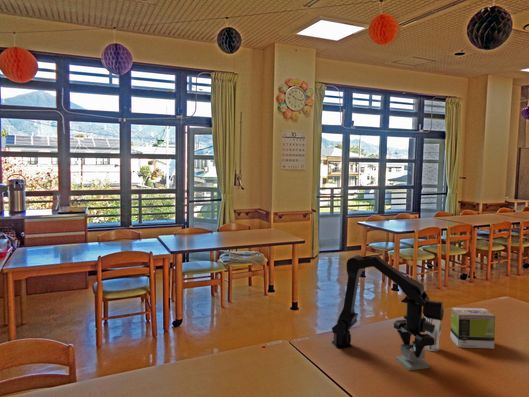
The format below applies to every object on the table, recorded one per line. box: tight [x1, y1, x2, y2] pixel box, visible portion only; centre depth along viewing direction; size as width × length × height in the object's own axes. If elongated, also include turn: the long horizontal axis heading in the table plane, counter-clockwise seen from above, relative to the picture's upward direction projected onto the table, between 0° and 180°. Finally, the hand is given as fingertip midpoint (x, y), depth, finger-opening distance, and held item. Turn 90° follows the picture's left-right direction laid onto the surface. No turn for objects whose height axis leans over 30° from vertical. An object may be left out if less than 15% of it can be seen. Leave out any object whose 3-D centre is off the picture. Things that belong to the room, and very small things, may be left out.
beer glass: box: [423, 315, 443, 352], centre depth 175 cm, size 7×7×15 cm
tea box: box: [450, 306, 496, 350], centre depth 179 cm, size 15×10×15 cm, turn 84°
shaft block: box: [395, 348, 430, 371], centre depth 161 cm, size 9×9×6 cm
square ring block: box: [400, 342, 426, 360], centre depth 161 cm, size 6×6×4 cm
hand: (412, 353), depth 161 cm, fingers closed on square ring block, 6 cm apart
